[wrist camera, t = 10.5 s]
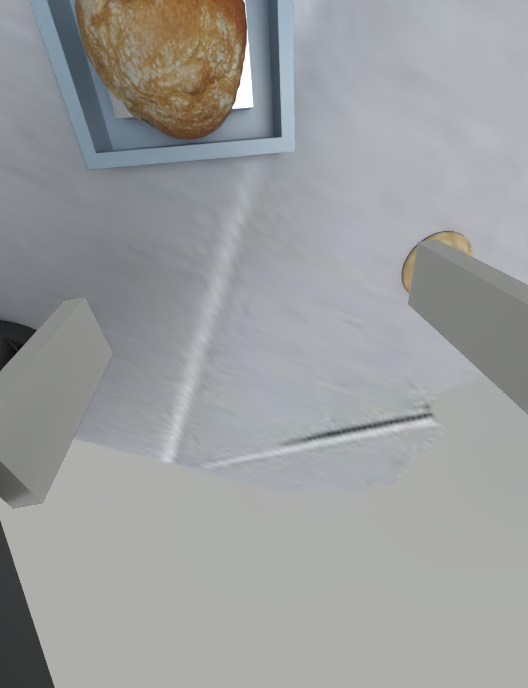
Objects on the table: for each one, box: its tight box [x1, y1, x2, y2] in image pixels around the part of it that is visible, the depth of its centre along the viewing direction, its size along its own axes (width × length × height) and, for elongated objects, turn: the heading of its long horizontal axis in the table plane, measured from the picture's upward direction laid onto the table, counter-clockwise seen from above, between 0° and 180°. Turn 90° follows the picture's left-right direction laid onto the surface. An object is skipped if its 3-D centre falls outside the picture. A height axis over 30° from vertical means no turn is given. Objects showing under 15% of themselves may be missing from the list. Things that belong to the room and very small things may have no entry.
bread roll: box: [75, 0, 247, 140], centre depth 19 cm, size 10×10×8 cm
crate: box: [29, 0, 295, 170], centre depth 23 cm, size 16×13×6 cm
